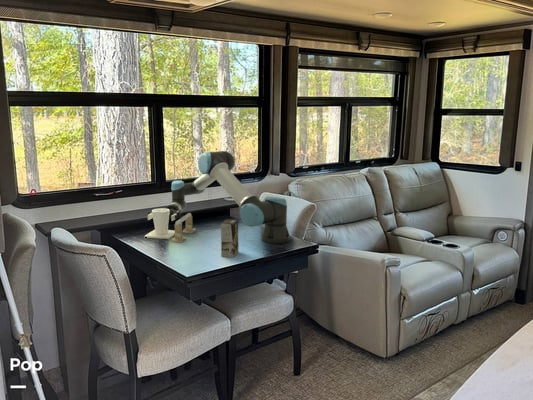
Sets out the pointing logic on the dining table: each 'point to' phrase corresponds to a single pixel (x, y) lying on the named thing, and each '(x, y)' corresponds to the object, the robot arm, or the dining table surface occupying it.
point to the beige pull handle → (178, 230)
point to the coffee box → (229, 238)
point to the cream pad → (164, 236)
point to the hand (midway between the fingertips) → (160, 218)
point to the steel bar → (183, 218)
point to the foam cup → (161, 220)
